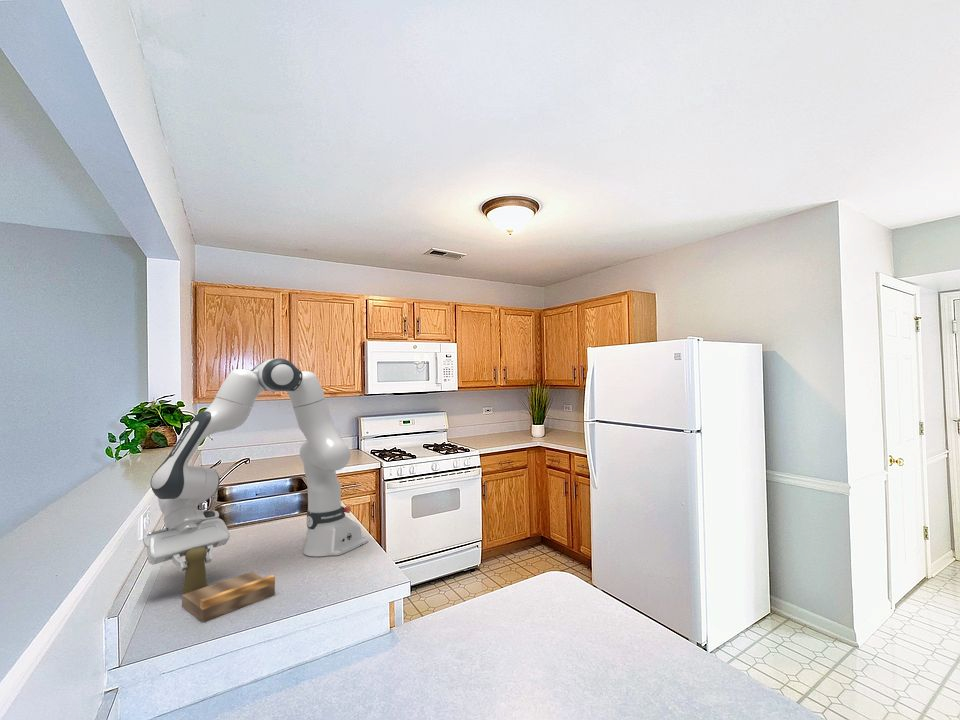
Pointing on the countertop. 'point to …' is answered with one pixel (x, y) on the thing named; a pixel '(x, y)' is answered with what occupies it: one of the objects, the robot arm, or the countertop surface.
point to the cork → (195, 570)
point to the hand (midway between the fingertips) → (196, 565)
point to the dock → (227, 606)
